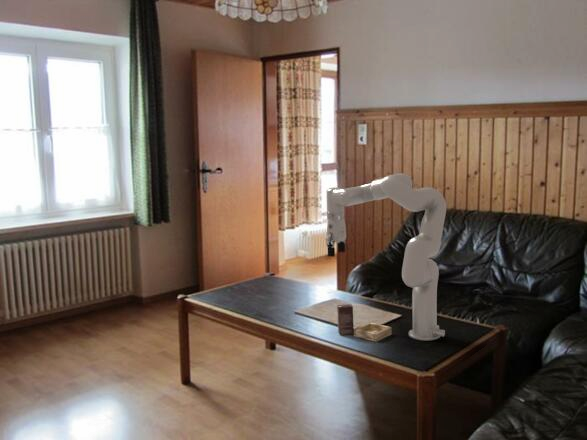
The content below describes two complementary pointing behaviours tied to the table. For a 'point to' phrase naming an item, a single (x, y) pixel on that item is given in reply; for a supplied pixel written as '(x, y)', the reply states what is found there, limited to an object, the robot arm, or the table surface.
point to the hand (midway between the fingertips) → (336, 254)
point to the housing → (372, 331)
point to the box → (345, 319)
